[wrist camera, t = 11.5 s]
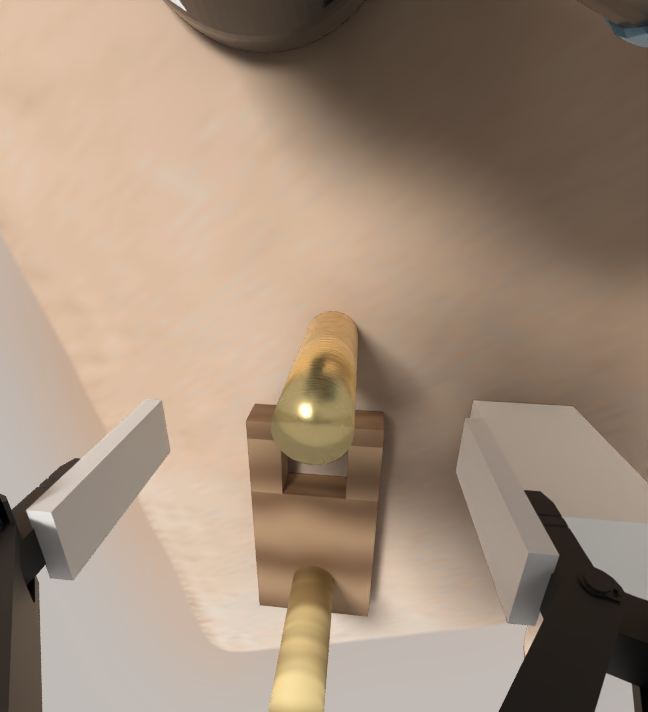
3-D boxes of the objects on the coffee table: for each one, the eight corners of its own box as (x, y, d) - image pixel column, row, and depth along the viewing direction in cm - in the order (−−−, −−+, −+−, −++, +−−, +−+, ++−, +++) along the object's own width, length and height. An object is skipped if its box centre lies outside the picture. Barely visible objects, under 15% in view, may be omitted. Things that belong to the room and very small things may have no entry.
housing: (473, 400, 29) (532, 514, 18) (572, 406, 28) (690, 526, 18) (458, 476, 31) (503, 611, 21) (549, 483, 31) (639, 625, 21)
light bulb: (592, 548, 33) (707, 728, 22) (542, 596, 36) (622, 778, 25) (520, 518, 32) (601, 687, 21) (475, 569, 35) (526, 742, 24)
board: (254, 403, 30) (192, 523, 19) (382, 411, 30) (394, 541, 19) (266, 580, 38) (226, 737, 27) (367, 590, 37) (369, 756, 26)
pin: (307, 310, 27) (269, 391, 16) (359, 312, 27) (356, 396, 16) (307, 357, 28) (272, 461, 17) (356, 360, 28) (352, 467, 17)
